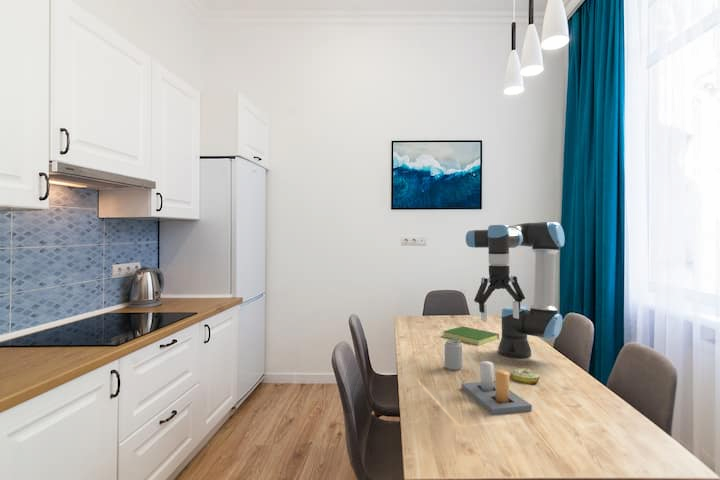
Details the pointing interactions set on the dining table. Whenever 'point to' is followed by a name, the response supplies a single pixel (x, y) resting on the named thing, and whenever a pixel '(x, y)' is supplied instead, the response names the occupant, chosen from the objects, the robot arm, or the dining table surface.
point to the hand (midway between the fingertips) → (500, 319)
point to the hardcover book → (471, 335)
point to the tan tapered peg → (501, 386)
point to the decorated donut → (525, 376)
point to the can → (453, 355)
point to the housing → (491, 405)
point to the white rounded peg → (486, 376)
